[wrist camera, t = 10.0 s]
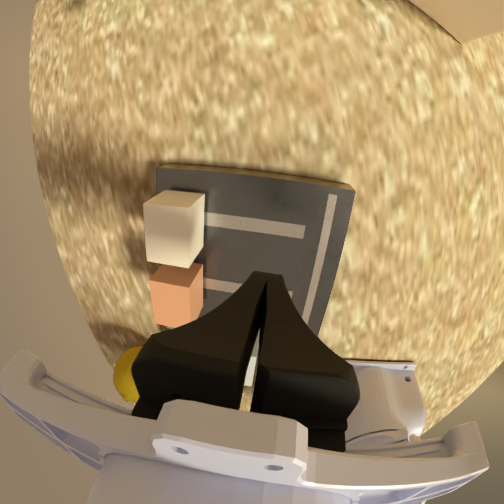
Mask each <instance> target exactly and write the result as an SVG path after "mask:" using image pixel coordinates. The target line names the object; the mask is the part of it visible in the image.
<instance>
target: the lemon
mask: <svg viewBox="0 0 504 504" xmlns="http://www.w3.org/2000/svg"><path fill="white" fill-rule="evenodd" d="M142 347H143V346H136V347H133V348H130V349H128V350H127V351H126V352H125V353H124V354H123V355H122V356H121V357H120V358H119V360H118V362H117V364H116V367H115V370H114V375H113V380H114V385H115V388H116V390H117V391H118V393H119V394H120V395H121V396H122V397H123V399H124V400H125V401H127V402H128V401H131V402H136V403H137V401H138V399H139V397H140V396H139V394H138V391H137V388H136V386H135V383H134V380H133V377H132V373H131V367H132V363H133V362H134V360H135V358H136V357H137V355H138V353H139V352H140V350H141V348H142Z"/></svg>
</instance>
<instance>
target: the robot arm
mask: <svg viewBox="0 0 504 504" xmlns="http://www.w3.org/2000/svg"><path fill="white" fill-rule="evenodd" d="M259 328H260V332H259ZM258 332H259V349H258V366H257V375H256V381H255V386H254V392H253V398H252V403H251V409H250V412H247V411H241V410H239V408H240V403H241V398H242V393H243V388H244V383H245V378H246V373H247V369H248V365H249V362H250V358H251V355H252V352H253V348H254V345H255V342H256V338H257V335H258ZM415 367H416V364H415V363H414V362H376V361H356V360H344V359H342V358H341V357H339V356H338V355H337V354H335V353H334V352H333V351H332V350H331V349H329V348H328V347H327V346H326V345H325V344H324V343H323V342H322V341H321V340H320V339H319V338H318V337H317V336H316V335H315V334H314V333H313V332H312V331H311V329H310V328H309V327H308V325H307V324H306V323H305V321H304V320H303V318H302V317H301V315H300V314H299V312H298V310H297V309H296V307H295V305H294V303H293V301H292V299H291V297H290V295H289V292H288V290H287V287H286V284H285V281H284V277H283V276H282V275H280V274H273V273H266V272H259V271H253V272H252V273H251V275H250V276H249V277H248V278H247V280H246V281H245V282H244V283H243V284H242V285H241V286H240V287H239V288H238V289H237V290H236V291H235V292H234V293H233V294H232V295H231V296H230V297H229V298H228V299H226V300H225V301H224V302H223V303H222V304H220V305H219V306H218V307H216V308H215V309H213V310H212V311H210V312H209V313H207V314H205V315H203V316H202V317H200V318H198V319H196V320H194V321H192V322H189V323H187V324H185V325H182V326H179V327H177V328H174V329H170V330H167V331H163V332H160V333H156V334H152V335H151V337H150V338H149V339H148V340H147V342H146V343H145V344H144V345H143V347H142V348H141V350H140V352H139V353H138V355H137V357H136V358H135V360H134V362H133V363H132V367H131V373H132V377H133V380H134V383H135V386H136V388H137V391H138V394H139V396H140V397H139V399H138V401H137V403H136V405H135V407H134V409H133V410H130V409H127V408H125V407H122V406H120V405H117V404H114V403H112V402H109V401H107V400H105V399H102V398H100V397H98V396H95V395H93V394H91V393H89V392H86V391H84V390H82V389H80V388H78V387H76V386H74V385H72V384H70V383H68V382H66V381H64V380H62V379H60V378H58V377H57V376H55V375H53V374H51V373H49V372H47V370H46V367H45V365H44V364H43V362H42V361H41V360H40V359H39V358H38V357H37V356H36V355H34V354H32V353H30V352H29V351H27V350H25V349H24V348H21V349H20V350H19V351H18V352H17V353H16V354H15V356H14V357H13V358H12V359H11V360H10V362H9V363H8V364H7V365H6V367H5V368H4V369H3V370H2V371H1V372H0V396H1V397H2V398H3V400H4V401H5V402H6V403H7V404H8V406H9V407H10V408H11V409H12V410H13V411H14V413H15V414H16V415H17V416H18V417H19V418H20V419H21V420H23V421H24V422H25V423H27V424H28V425H29V426H30V427H32V428H33V429H35V430H36V431H37V432H39V433H40V434H41V435H43V436H44V437H46V438H47V439H48V440H50V441H51V442H53V443H54V444H56V445H57V446H59V447H60V448H62V449H63V450H65V451H66V452H68V453H69V454H71V455H73V456H74V457H76V458H77V459H79V460H81V461H82V462H84V463H86V464H87V465H89V466H91V467H93V468H95V469H96V470H98V471H100V472H99V474H98V476H97V478H96V480H95V483H94V485H93V487H92V489H91V492H90V494H89V496H88V498H87V501H86V503H85V504H425V502H426V500H428V499H431V498H434V497H438V496H441V495H444V494H447V493H450V492H452V491H454V490H456V489H457V488H459V487H461V486H462V485H464V484H466V483H467V482H469V481H471V480H472V479H474V478H475V477H477V476H478V475H480V474H481V473H483V472H484V471H486V470H487V469H488V468H489V463H488V460H487V456H486V452H485V448H484V445H483V442H482V438H481V435H480V432H479V429H478V426H477V423H476V421H472V422H468V423H464V424H459V425H457V426H455V427H453V428H451V429H450V430H449V431H447V432H446V434H445V435H444V436H443V437H438V438H432V439H426V440H421V439H420V437H419V436H420V434H421V432H422V430H423V428H424V424H425V407H424V403H423V399H422V396H421V393H420V389H419V386H418V383H417V380H416V377H415V374H414V371H413V370H414V369H415Z"/></svg>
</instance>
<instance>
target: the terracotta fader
mask: <svg viewBox="0 0 504 504" xmlns="http://www.w3.org/2000/svg"><path fill="white" fill-rule="evenodd" d="M149 284H150V292H151V300H152V307H153V314H154V320H155V323H156V324H160V325H164V326H169V327H173V328H177V327H179V326H182V325H185V324H187V323H189V322H192V321H194V320H196V319H197V318H198V316H199V314H200V311H201V309H202V307H203V264H199V263H192V264H191V265H190V267H189V268H184V267H178V266H172V265H166V264H162V265H161V266H160V267H159V269H158V270H157V271H156V272H155V273H154V275H153V276H152V277H151V278H150V279H149Z"/></svg>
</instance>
